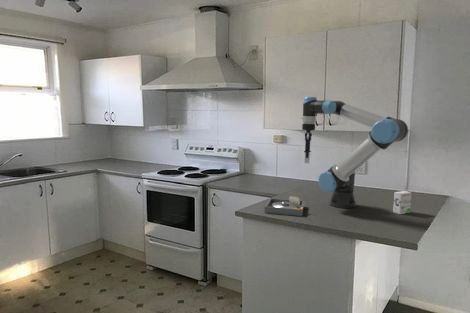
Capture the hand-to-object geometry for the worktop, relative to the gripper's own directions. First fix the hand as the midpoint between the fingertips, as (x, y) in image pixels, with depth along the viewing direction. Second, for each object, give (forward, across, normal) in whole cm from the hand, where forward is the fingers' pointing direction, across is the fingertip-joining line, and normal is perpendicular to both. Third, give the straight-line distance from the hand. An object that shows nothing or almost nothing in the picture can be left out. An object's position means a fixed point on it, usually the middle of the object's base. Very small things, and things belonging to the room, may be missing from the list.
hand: (306, 163), depth 222 cm
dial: (+23, +19, -10) cm, 31 cm away
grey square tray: (+24, +19, -10) cm, 33 cm away
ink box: (+25, +4, +54) cm, 59 cm away
